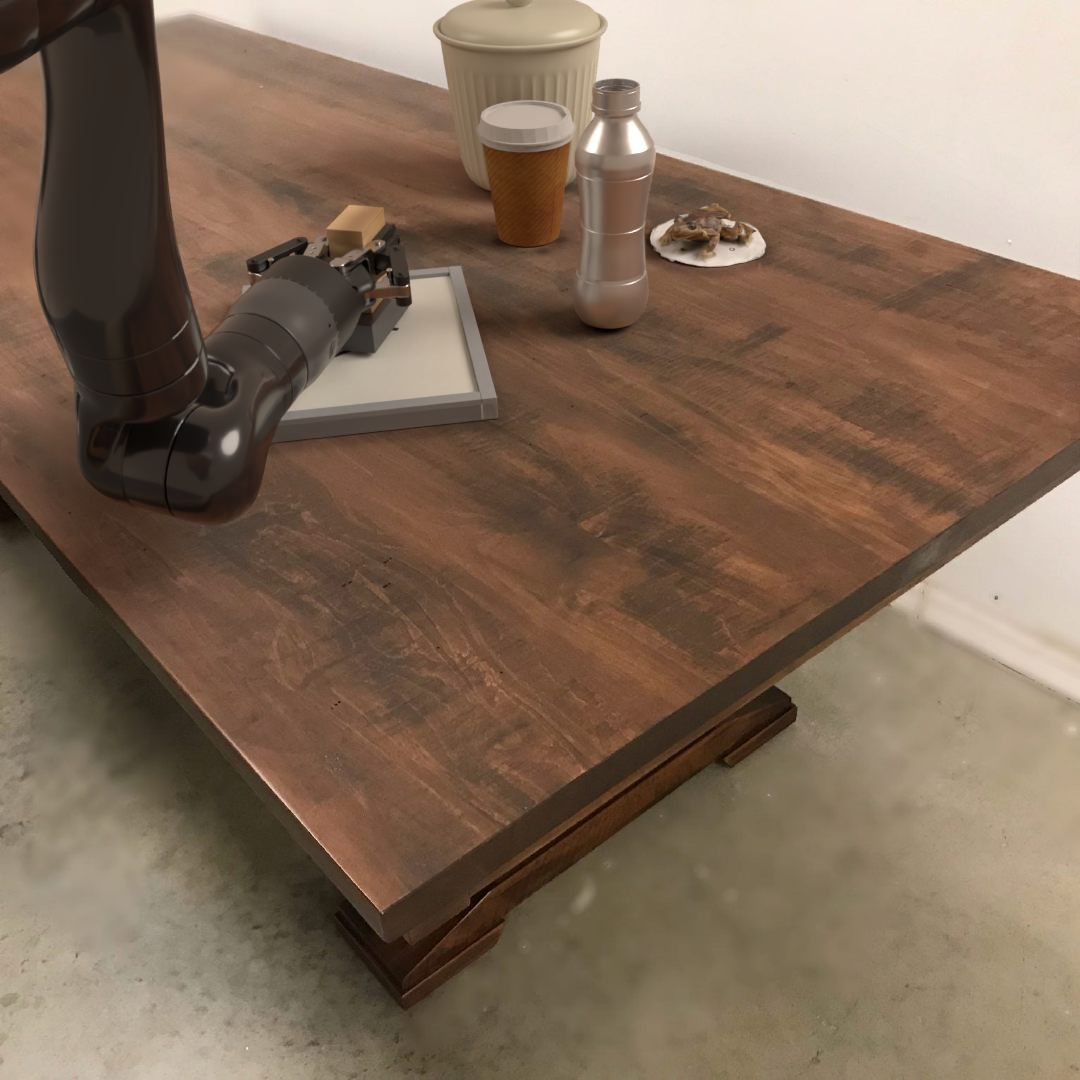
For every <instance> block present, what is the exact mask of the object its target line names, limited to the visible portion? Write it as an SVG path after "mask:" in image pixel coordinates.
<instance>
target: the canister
mask: <svg viewBox="0 0 1080 1080" xmlns="http://www.w3.org/2000/svg"><path fill="white" fill-rule="evenodd" d="M608 26H609V23H608V20H607V18H606V17H605V16H604V15H603V14H601V13H599V12H597V11H595V10H594V9H593V7H591V6H590V5H588V4H586V3H584V2H582V1H579V0H470V1H469V0H468V1H466V2H463V3H460V4H458V5H456V6H455V7H452V8H451V9H450V10H448V11H447V12H446V13H445V14H444V16H441V17H440V18H438V19H437V20H435V22H434V24H433V25H432V32H433V34H434V36H435V38H437V39H438V40H439V41H440V48H441V52H442V53H441V54H442V58H443V65H444V71H445V78H446V83H447V89H448V95H449V101H450V107H451V113H452V118H453V123H454V128H455V133H456V139H457V143H458V144H457V145H458V149H459V153H460V158H461V162H462V165H463V168H464V170H465V172H466V174H467V176H468V178H470V180H471V181H472V182H473V183H474V184H475V185H476V186H477V187H480V188H481V189H484V190H486V191H487V192H491V190H490V184H489V178H488V172H487V168H486V161H485V155H484V150H483V144H482V142H481V140H480V137H479V135H478V134H477V130H476V129H477V126H478V125H479V123H480V117H481V114H482V112H483V111H484V110H485V109H487V108H488V107H491V106H493V105H496V104H500V103H504V102H511V101H523V100H536V101H546V102H552V103H556V104H559V105H562V106H564V107H566V108H567V109H568V110H569V111H570V113H571V118H572V121H573V122H574V124H575V126H576V129H575V132H574V133H573V138H572V139H571V141H570V149H569V157H568V166H567V174H566V183H565V188H566V187H568V186H569V185H571V184H573V183H574V182H575V181H577V176H576V167H575V151H576V147H577V144H578V141H579V139H580V137H581V136H582V134H583V132H584V131H585V129H586V128H587V126H588V125H589V124H590V122H591V121H592V119H593V112H592V111H591V102H592V87H593V84H594V83H595V82H597V77H598V76H597V75H598V66H599V57H600V49H601V37H602V36H603V35H604V34H605V33H606V31H607V29H608Z"/></svg>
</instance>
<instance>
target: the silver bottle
mask: <svg viewBox="0 0 1080 1080" xmlns="http://www.w3.org/2000/svg"><path fill="white" fill-rule="evenodd" d="M641 110H642V102H641V86H640V83H639V82H638V81H636V80H634V79H629V78H615V77H614V78H604V79H600V80H598V81H597V80H596V82H595V83H594V84H593V87H592V102H591V111H592V113H593V114H594V116H593V117H592V119H591V122H590V124H589V125H588V126H587V128H586V129H585V131H584V132H583V134H582V136H581V137H580V139H579V141H578V144H577V147H576V151H575V167H576V176H577V178H576V183H577V190H578V198H579V218H580V223H579V225H580V237H579V248H578V259H577V268H576V270H575V275H574V278H573V279H574V280H573V287H572V291H571V294H572V295H571V296H572V301H573V307H574V311H575V313H576V314H577V316H578V317H579V318H580V320H581V321H582V322H583V323H584V324H586V325H588V326H591V327H594V328H597V329H620V328H625V327H629V326H631V325H633V324H635V323H637V322H638V321H639V320H640V318H641V317H642V316H643V314H644V313H645V311H646V309H647V304H648V302H649V301H648V300H649V296H650V289H649V288H650V286H649V277H648V271H647V268H646V242H645V241H646V239H645V238H646V237H645V230H646V223H647V222H646V218H647V211H648V201H649V196H650V191H651V185H652V181H653V175H654V169H655V165H656V159H657V158H656V157H657V151H656V146H655V142H654V140H653V138H652V136H651V135H650V133H649V131H648V129H647V127H646V126H645V125H644V123H643V122H642V120H641V119H640V118H639V116H638V113H639V112H640V111H641Z"/></svg>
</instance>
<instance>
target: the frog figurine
mask: <svg viewBox="0 0 1080 1080" xmlns="http://www.w3.org/2000/svg"><path fill="white" fill-rule="evenodd" d="M731 216H732V214H731V213H730V212H729V211H728V210H727V209H725V208H723V207H722V206H720V205H719V203H710V205H706V206H705V205H704V206H702V207H699V208H698V209H697V210H695V211H692V212H689V213H685V214H678V215H677V216H675V218H671V219H669V220H666V221H662V222H660V223H659V224H658V225H656V226H655V227H654V228H652V229H651V232H650V236H649V241H650V244H651V246H653V250H654V251H655V252H657V253H659V254H660V257H662V258H663V259H667V260H668V261H669V262H672V263H674V262H678V263H679V262H680V263H681V264H682V263H683V264H686V265H690V266H696V267H707V268H712V267H713V268H717V267H728V266H733V265H736V264H742V263H743V264H744V263H747V262H750V261H751V262H752V261H754V260H758V259H761V257H762V256H764V254H765V253H766V248H767V244H766V241H765V239H763V236H762V234H761V233H760V231H759V230H758V228H756V226H755V225H753V224H750V223H748V222H747V221H743V220H740V221H735V220H730V219H731Z"/></svg>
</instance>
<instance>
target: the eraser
mask: <svg viewBox="0 0 1080 1080" xmlns="http://www.w3.org/2000/svg"><path fill="white" fill-rule="evenodd" d="M385 217H386V216H385V209H384V207H381V206H370V205H369V206H368V205H357V204H349V205H347V207H345V208H344V210H343V211H342V212H340V214H339V215H338V216H336V218H335V219H334V220H333V221H332V222H331V223H330V224H329V225H327V227H326V228H325V230H326V235H327V239H328V246H329V252H330V257H332V258H336V257H340V258H341V257H342V256H344V255H345V254H346V253H348V252H349V251H350V250H352V249H353V248H354V247H356V246H359V247H365V246H366V245H367V244H369V243H370V242H371V241H372V239H373V238H374V237H375V236H376V234H377V233H378V232H379V231H380V230H381V229H382V228H383V226H384V225H385V224H386V218H385ZM385 276H387V273H386V274H385V275H384V276H383V277H385ZM383 277H381V278H380V279H379V280H378V281H377V283H378V282H380V281H382V279H383ZM408 307H409V306H406V307H400V306H398V305H397V304H396V299H394V300H391V299H390V298H385V299H377V301H376V303H375V305H374V306H373V307H371V308H369V309H367V310H365V311H363V312H362V313H361V315H360V317H359V320H358V323H357V325H356V328H355V330H354V332H353V333H352V335H351V336H350V338H349V339H348V340H347V341H346V343H345V344H344V345H343V346H342V348H341V349H340V350H346V351H356V352H366V353H376V351H377V350H378V349H379V347H380V346H381V345H382V343H383V342H384V340H385V339H386V338H387V336H388V335H389V334H390V332H391V331H392V329H393V328H394V327H395V325H396V324H397V322H398V321H399V320H400V318H401V317H402V316H403V314H404V313H405V311H406V310H407V309H408Z"/></svg>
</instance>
